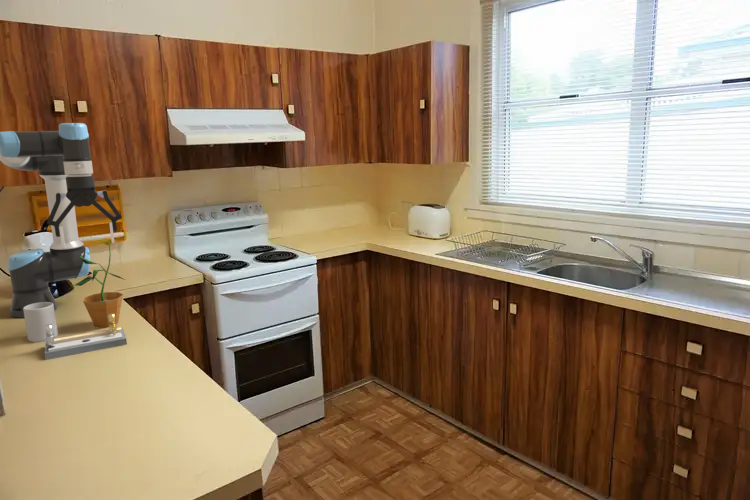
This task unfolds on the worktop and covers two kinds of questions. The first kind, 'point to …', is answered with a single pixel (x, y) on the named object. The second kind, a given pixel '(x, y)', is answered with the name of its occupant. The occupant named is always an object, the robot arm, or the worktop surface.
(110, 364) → the worktop surface
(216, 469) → the worktop surface
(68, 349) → the board
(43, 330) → the mug
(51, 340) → the fixed leg
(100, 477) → the worktop surface
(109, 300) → the potted plant
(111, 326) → the brass slider pointer
